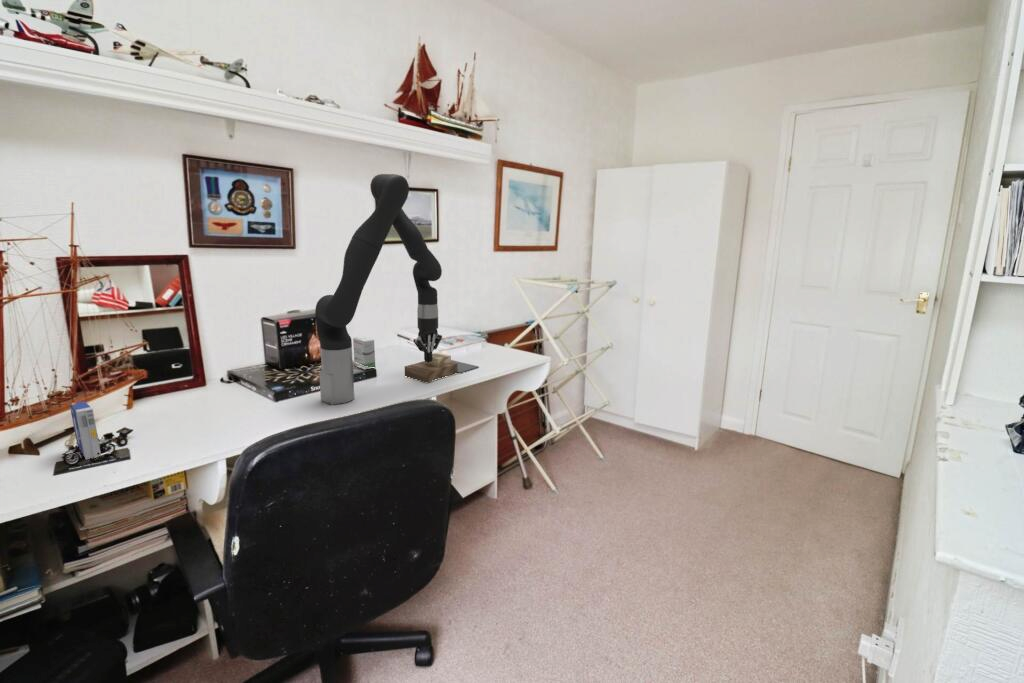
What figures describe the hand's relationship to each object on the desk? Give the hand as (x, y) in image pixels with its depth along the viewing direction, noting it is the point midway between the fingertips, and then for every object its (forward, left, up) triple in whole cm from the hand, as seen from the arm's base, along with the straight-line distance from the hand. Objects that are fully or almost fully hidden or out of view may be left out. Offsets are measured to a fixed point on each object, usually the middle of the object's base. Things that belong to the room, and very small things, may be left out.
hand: (428, 361), depth 178 cm
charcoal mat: (+16, +2, -6) cm, 17 cm away
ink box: (-8, +27, -6) cm, 29 cm away
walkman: (-95, +15, -6) cm, 97 cm away
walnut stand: (+2, 0, -6) cm, 6 cm away
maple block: (+5, 0, -2) cm, 5 cm away
